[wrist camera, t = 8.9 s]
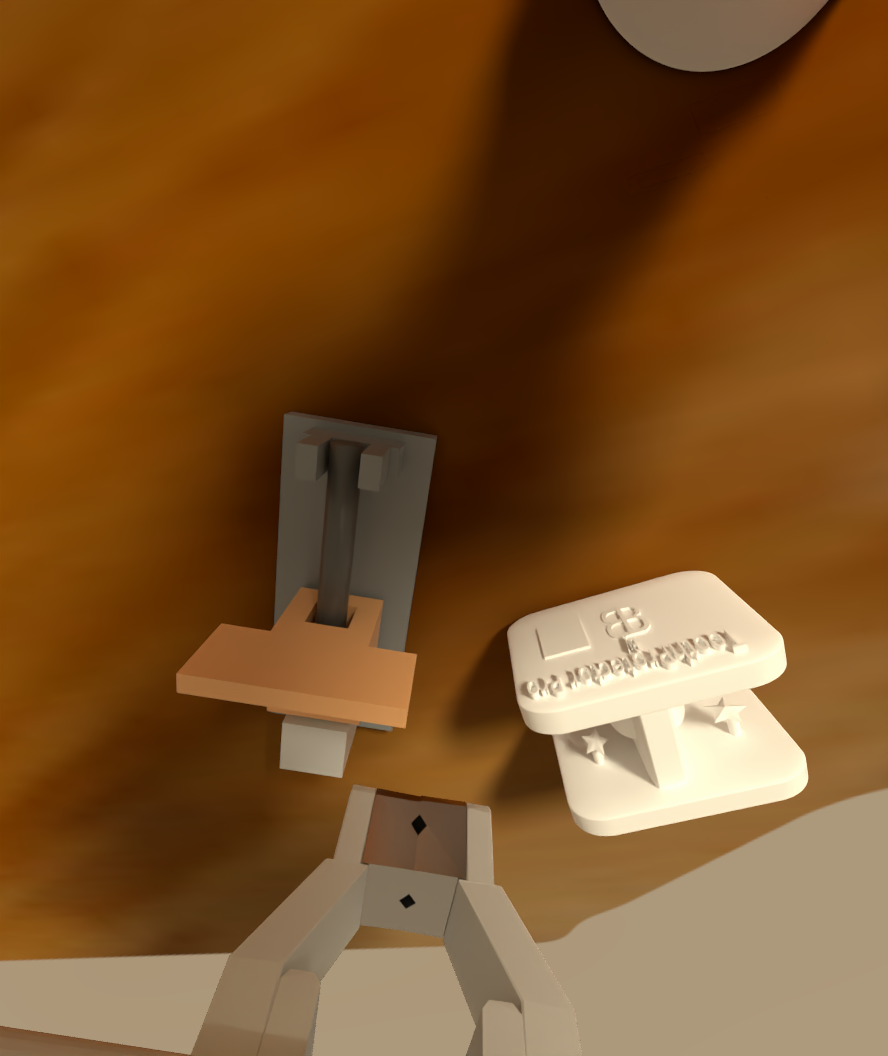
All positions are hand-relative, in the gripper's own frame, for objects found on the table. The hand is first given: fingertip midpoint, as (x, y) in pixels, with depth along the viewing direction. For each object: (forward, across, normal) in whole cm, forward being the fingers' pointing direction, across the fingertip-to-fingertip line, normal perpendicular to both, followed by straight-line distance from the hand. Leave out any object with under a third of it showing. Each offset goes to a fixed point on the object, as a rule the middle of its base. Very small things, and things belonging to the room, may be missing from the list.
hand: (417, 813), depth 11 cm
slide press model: (+25, +7, +9) cm, 28 cm away
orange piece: (+23, +6, +12) cm, 27 cm away
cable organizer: (+26, -14, +11) cm, 31 cm away
